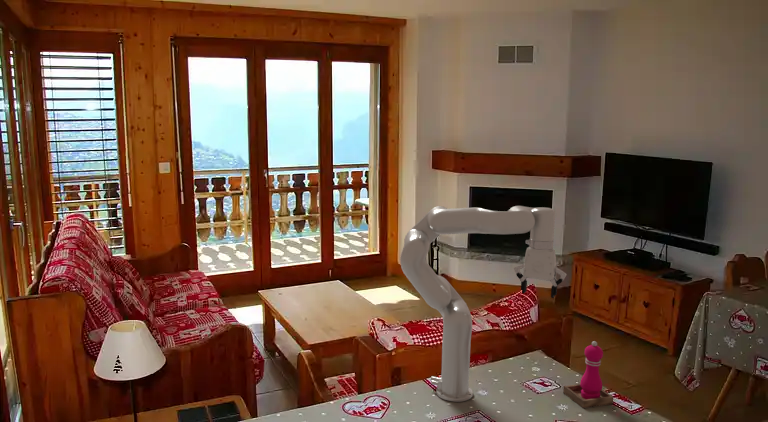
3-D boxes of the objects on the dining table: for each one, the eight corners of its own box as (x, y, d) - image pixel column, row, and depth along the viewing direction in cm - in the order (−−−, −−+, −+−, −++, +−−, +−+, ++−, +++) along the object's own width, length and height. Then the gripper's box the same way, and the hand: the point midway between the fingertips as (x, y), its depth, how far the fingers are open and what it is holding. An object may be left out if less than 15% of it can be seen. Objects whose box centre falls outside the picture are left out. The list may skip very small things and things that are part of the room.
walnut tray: (583, 408, 198) (583, 401, 198) (563, 393, 209) (563, 386, 209) (612, 404, 202) (613, 397, 201) (591, 389, 212) (592, 382, 212)
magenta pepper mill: (604, 402, 202) (609, 345, 199) (583, 401, 202) (587, 345, 199) (597, 392, 209) (601, 337, 206) (576, 391, 209) (580, 337, 206)
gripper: (512, 243, 199) (510, 293, 202) (565, 250, 191) (562, 301, 193) (518, 240, 205) (516, 288, 208) (570, 245, 197) (567, 295, 200)
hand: (538, 294), depth 201 cm, fingers open, 9 cm apart
